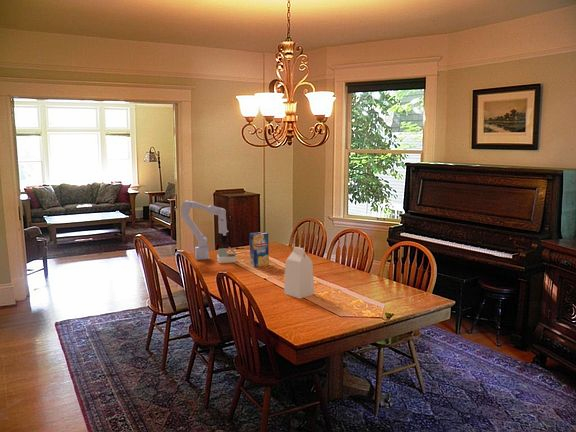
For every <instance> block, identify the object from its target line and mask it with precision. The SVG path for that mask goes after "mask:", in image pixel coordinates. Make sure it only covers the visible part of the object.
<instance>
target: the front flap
mask: <svg viewBox="0 0 576 432" xmlns="http://www.w3.org/2000/svg"><path fill="white" fill-rule="evenodd" d="M217 250H218V252H217V253H218V255H219V257H223V256H227V254H228V251H227V250H228V249H227V247H225V248H224V247H222V248H218V249H217Z"/></svg>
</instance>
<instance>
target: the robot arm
mask: <svg viewBox="0 0 576 432" xmlns="http://www.w3.org/2000/svg"><path fill="white" fill-rule="evenodd" d="M196 208H197V209H200V210H204V211H207V213H209V214H211V215H215V216H217V218H218V219H217V220H218V221H217V222H218V236H219V238H220V243H221V244H222V245H224V246H225V245H226V244H227V238H228V235H229V234H227V233H229V230H228V228H227V216H226V215H227V214H226V213H227V211H226V209H225V208H223V207H220V206H215V205H214V204H209V205H205V204H203V203H201V202H198V201H194V200H189V199H186V200H185V201H183V202H182V204H181V206H180V212H181V213H180V215H181V216H180V217H181V218H182V219H183V220H184V222H185V224H186V225H187V226H188V228H189V229H190V230H191V232H192V233H193V235H194V236H195V239H196V241H197V246H195V247H194V258H195V260H196V261H199V260H200V261H201V260H210V257H209V245H208V240H209V239H208V238H207V236H205V235H204V233H202V232H201V231H200V229H199V227H198V226H197V224H196V223H195V222H194V221H193V219H192V217H191V216H190V214H189V213H190V211H191V209H196Z"/></svg>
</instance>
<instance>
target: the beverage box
mask: <svg viewBox="0 0 576 432" xmlns="http://www.w3.org/2000/svg"><path fill="white" fill-rule="evenodd" d="M269 254H270V253H269V233H268V232H266V231H260V232H259V231H257V232H250V233H249V265H250V266H251V267H253V268H257V267H263V266H269V264H270V263H269V262H270V261H269V260H270V259H269V258H270V257H269Z"/></svg>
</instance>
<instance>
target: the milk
mask: <svg viewBox="0 0 576 432" xmlns="http://www.w3.org/2000/svg"><path fill="white" fill-rule="evenodd" d="M313 265H314V264H313V261H312V259H311V258H310V257H309V256H308V255H307V254H306V252H305V248H304V247H299V246H294V247H293V249H292V252H290V254H289V255H288V257H287V258H286V260H285V264H284V283H283V284H284V285H283V286H284V288H283V289H284V290H283V291H284V292H283V294H284V295H286V296H290V297H293V298H297V299H303V298H306V297H308V296H312V295H314V294H315V285H314V283H315V282H314V281H315V280H314V270H313V269H314V266H313Z"/></svg>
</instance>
